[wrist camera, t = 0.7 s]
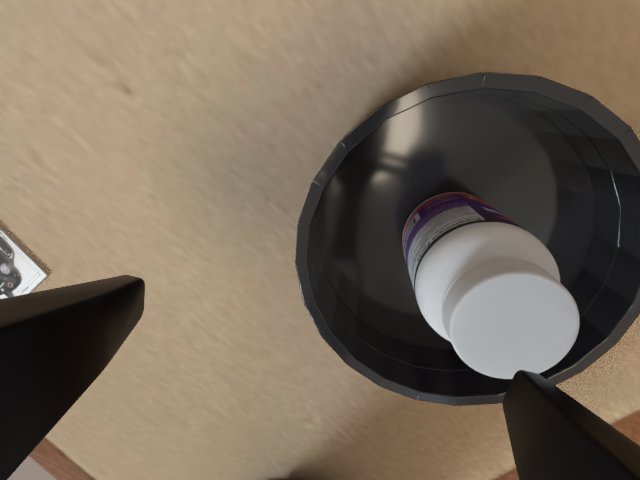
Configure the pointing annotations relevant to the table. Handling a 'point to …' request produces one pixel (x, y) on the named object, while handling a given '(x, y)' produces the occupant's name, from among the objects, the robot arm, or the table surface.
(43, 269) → the white product box
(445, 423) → the table surface
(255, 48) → the table surface
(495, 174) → the pan
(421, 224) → the pill bottle
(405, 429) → the table surface
